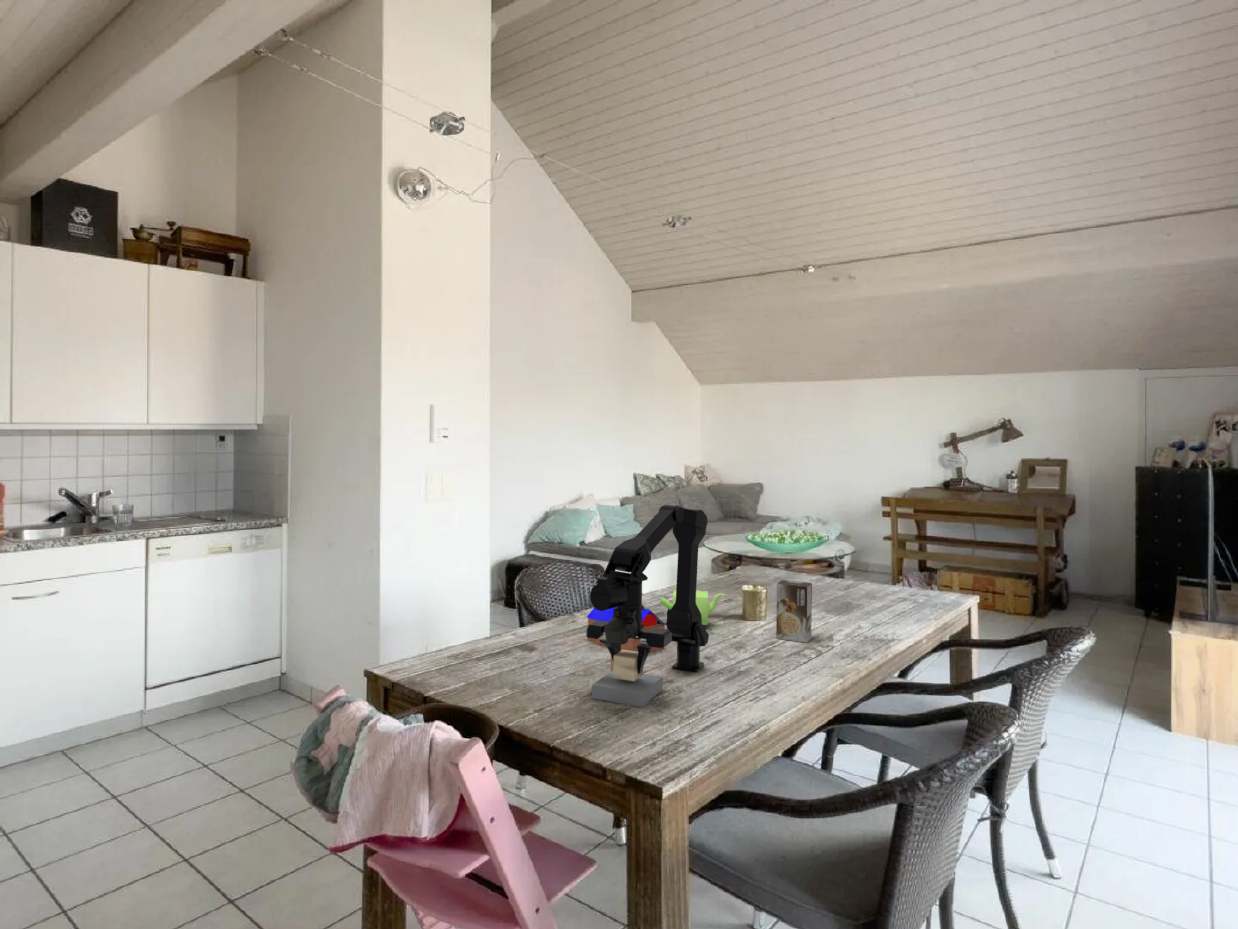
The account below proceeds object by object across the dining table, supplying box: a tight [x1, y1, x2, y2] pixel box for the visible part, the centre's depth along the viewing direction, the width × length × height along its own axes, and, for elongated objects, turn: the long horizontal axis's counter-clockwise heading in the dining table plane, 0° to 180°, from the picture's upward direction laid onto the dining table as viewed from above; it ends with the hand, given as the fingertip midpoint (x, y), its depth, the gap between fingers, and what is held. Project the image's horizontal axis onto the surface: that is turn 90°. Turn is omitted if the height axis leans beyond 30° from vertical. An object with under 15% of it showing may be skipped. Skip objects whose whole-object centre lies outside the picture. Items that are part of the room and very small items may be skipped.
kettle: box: [658, 589, 725, 626], centre depth 221 cm, size 15×14×11 cm
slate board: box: [591, 671, 664, 708], centre depth 162 cm, size 12×12×3 cm
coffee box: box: [775, 579, 813, 644], centre depth 208 cm, size 9×6×16 cm
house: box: [586, 607, 666, 653], centre depth 200 cm, size 12×20×12 cm, turn 40°
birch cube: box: [613, 650, 644, 681], centre depth 162 cm, size 5×5×5 cm
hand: (628, 671), depth 162 cm, fingers closed on birch cube, 5 cm apart
